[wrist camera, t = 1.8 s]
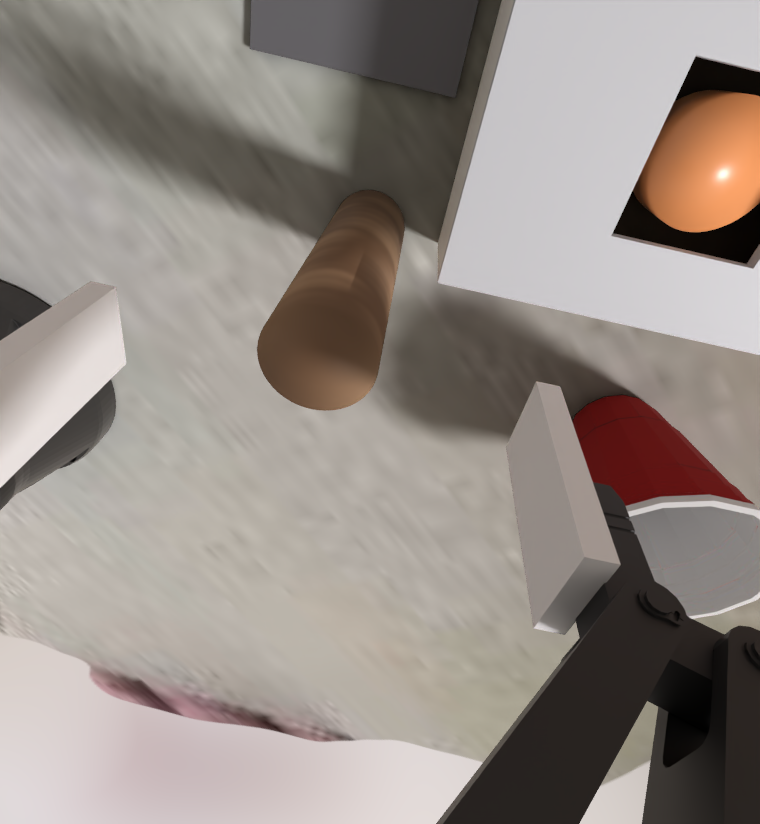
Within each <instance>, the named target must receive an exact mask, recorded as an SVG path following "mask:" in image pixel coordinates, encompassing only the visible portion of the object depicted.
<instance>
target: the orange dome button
mask: <svg viewBox="0 0 760 824" xmlns="http://www.w3.org/2000/svg"><path fill="white" fill-rule="evenodd" d="M633 192H634V194H635V196H636V198H637V199H638V201H639V202H640V203H641V204H642V205H643V206H644V207H645V208H646V209H647V210H649V211H650V212H651V213H653V214H654V215H655V216H657V217H658V218H659V219H660V220H662V221H663V222H664V223H666V224H667V225H668V226H670V227H673V228H675V229H678V230H681V231H686V232H705V231H710V230H714V229H717V228H720V227H723V226H726V225H728V224H730V223H732V222H734V221H736V220H737V219H739V218H741V217H742V216H744V215H745V214H747V213H748V212H749V211H751V210H752V209H753V208H754V207H755V206H757V205H758V204H759V203H760V96H757V95H751V94H745V93H738V92H731V91H724V90H704V91H699V92H695V93H692V94H689V95H687V96H685V97H682V98H681V99H679V100H677V101H675V102H674V103H673V105H672V108H671V110H670V112H669V114H668V116H667V118H666V120H665V122H664V125H663V127H662V129H661V131H660V133H659V135H658V137H657V140H656V142H655V144H654V146H653V148H652V150H651V152H650V154H649V157H648V159H647V161H646V163H645V165H644V167H643V169H642V171H641V174H640V176H639V178H638V180H637V182H636V184H635V186H634V189H633Z"/></svg>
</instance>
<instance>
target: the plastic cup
mask: <svg viewBox="0 0 760 824" xmlns="http://www.w3.org/2000/svg"><path fill="white" fill-rule="evenodd" d="M572 423H573V426H574V428H575V431H576V434H577V437H578V440H579V443H580V446H581V449H582V452H583V455H584V458H585V461H586V464H587V467H588V470H589V473H590V476H591V478H592V481H593V482H595V483H600V484H604V485H609V486H611V487H612V488H613V489H614V491H615V492H616V493H617V494H618V495H619V497H620V498H621V499H622V500H623V502H624V504H625V506H626V509H627V512H628V514H629V517H630V519H629V520H630V521H631V522H632V524H633V527H634V529H635V534H637V537H638V540H639V542H640V545H641V547H642V550H643V552H644V555H645V557H646V560H647V562H648V565H649V567H650V570H651V573H652V575H653V578H654V580H655V582H657V583H659V584H660V585H662V586H664V587H665V588H667V589H668V590H669V591H670V592H671V593H672V594H673V595H674V596H676V597H677V599H678V600H679V601H680V603H681V604H682V606H683V607H684V609H685V612H686V615H687V616H688V617H690V618H691V619H693V618H699V617H705V616H711V615H717V614H721V613H723V612H726V611H729V610H731V609H734V608H737V607H739V606H742V605H745V604H747V603H750V602H753V601H755V600H757V599H759V598H760V508H758V507H757V506H755V505H754V503H753V502H751V501H750V500H748V499H747V498H746V497H745V496H744V495H743V494H742V493H741V492H740V491H739V489H738V488H736V487H735V486H733V485H732V484H730V483H729V482H728V481H727V480H726V479H725V478H724V476H723V475H722V474H721V473H720V472H719V471H718V470H717V469H716V468H715V467H714V466H713V465H712V464H711V463H710V462H709V461H708V460H707V459H706V458H705V457H704V456H703V455H702V454H701V453H700V452H699V451H698V450H697V449H696V448H695V447H694V446H693V445H692V444H691V443H690V442H689V441H688V440H687V439H686V438H685V437H684V436H683V435H682V434H681V433H680V432H679V431H678V430H677V429H675V428H674V427H672V426H671V425H670V424H669V423H668V422H667V421H666V420H665V419H664V418H663V417H662V416H661V415H660V414H659V413H658V412H657V411H656V410H655V409H654V408H652V407H651V406H649V405H648V404H646V403H645V402H643V401H642V400H640V399H639V398H635V397H630V396H625V395H617V396H608V397H603V398H601V399H599V400H596V401H594V402H592V403H589V404H588V405H587V406H585V407H584V408H583V409H582V410H581V411H579V412H578V413H577V414H576V416H575V418H574V419H573V421H572Z"/></svg>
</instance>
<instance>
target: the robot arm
mask: <svg viewBox="0 0 760 824" xmlns="http://www.w3.org/2000/svg"><path fill="white" fill-rule="evenodd" d="M125 364H126V357H125V349H124V342H123V335H122V327H121V320H120V313H119V305H118V298H117V291H116V287H114V286H109V285H105V284H100V283H96V282H89V283H88V284H86V285H85V286H83V287H81V288H80V289H78V290H77V291H75V292H74V293H72V294H71V295H69V296H68V297H66V298H65V299H63V300H62V301H60V302H59V303H57V304H55V305H54V306H52V307H50V306H48V305H47V304H45V303H44V302H42V301H40V300H39V299H37V298H36V297H34V296H32V295H30V294H28V293H26V292H24V291H22V290H20V289H18V288H16V287H14V286H11V285H9V284H6V283H3V282H1V281H0V510H1V509H2V508H3V507H4V506H5V505H6V504H7V503H8V501H9V500H10V499H11V498H12V497H13V496H14V495H16V494H17V493H19V492H21V491H22V490H24V489H26V488H28V487H30V486H31V485H33V484H35V483H36V482H38V481H39V480H41V479H43V478H44V477H45V476H47V475H49V474H50V473H52V472H54V471H55V470H57V469H59V468H62V467H66V466H68V465H70V464H72V463H74V462H76V461H78V460H80V459H81V458H83V457H84V456H85V455H86V454H88V453H89V452H90V451H91V450H92V449H93V448H94V447H95V446H96V444H97V443H98V442H99V441H100V440H101V439H102V438H103V436H104V435H105V434H106V433H107V432H108V430H109V428H110V427H111V425H112V423H113V420H114V416H115V409H116V400H115V393H114V388H113V384H112V381H111V378H112V377H113V376H114V375H115V374H116V373H117V372H118V371H119V370H120V369H121V368H122V367H123V366H124V365H125ZM506 450H507V457H508V463H509V470H510V476H511V483H512V489H513V496H514V503H515V509H516V516H517V522H518V529H519V536H520V542H521V549H522V555H523V562H524V568H525V575H526V582H527V588H528V595H529V601H530V608H531V614H532V621H533V628H535V629H540V630H545V631H549V632H554V633H559V634H564V635H565V634H566V633H567V632H568V630H569V629H570V628H571V627H572V625H573V624H574V623H575V622H576V623H577V628H578V632H579V636H580V638H579V640H578V641H577V642H576V643H575V644H574V645H573V647H572V648H571V649H570V650H569V651H568V653H567V654H566V655H565V656H564V657H563V659H562V660H561V662H560V664H559V665H558V666H557V668H556V669H555V670H554V672H553V673H552V674H551V675H550V677H549V678H548V679H547V681H546V682H545V683H544V685H543V686H542V687H541V688H540V690H539V691H538V692H537V694H536V695H535V696H534V698H533V699H532V700H531V701H530V703H529V704H528V705H527V707H526V708H525V709H524V710H523V712H522V713H521V714H520V716H519V717H518V718H517V720H516V721H515V722H514V723H513V725H512V726H511V727H510V729H509V730H508V731H507V733H506V734H505V735H504V736H503V738H502V739H501V740H500V742H499V743H498V744H497V746H496V747H495V748H494V749H493V751H492V752H491V753H490V755H489V756H488V757H487V758H486V760H485V761H484V762H483V764H482V765H481V766H480V768H479V769H478V770H477V771H476V773H475V774H474V776H473V777H472V778H471V779H470V781H469V782H468V783H467V785H466V786H465V787H464V788H463V790H462V791H461V792H460V794H459V795H458V796H457V798H456V799H455V800H454V801H453V803H452V804H451V805H450V807H449V808H448V809H447V810H446V812H445V813H444V815H443V816H442V817H441V818H440V820H439V821H438V822H437V823H436V824H579V823H580V821H581V819H582V817H583V815H584V814H585V812H586V810H587V808H588V806H589V805H590V803H591V801H592V799H593V797H594V796H595V794H596V792H597V790H598V789H599V787H600V785H601V783H602V781H603V780H604V778H605V776H606V774H607V772H608V770H609V769H610V767H611V765H612V763H613V761H614V760H615V758H616V756H617V754H618V752H619V751H620V749H621V747H622V745H623V743H624V742H625V740H626V738H627V736H628V734H629V732H630V731H631V729H632V727H633V725H634V723H635V722H636V720H637V718H638V716H639V714H640V713H641V711H642V709H643V707H644V705H645V704H646V702H647V701H649V702H651V703H653V704H654V705H656V706H658V713H657V720H656V727H655V735H654V742H653V749H652V756H651V763H650V770H649V777H648V784H647V792H646V799H645V806H644V813H643V820H642V824H760V631H758V630H756V629H754V628H751V627H746V626H737V627H735V628H733V629H731V630H730V631H729V632H728V633H726V634H725V635H724V634H722V633H720V632H718V631H716V630H713V629H711V628H709V627H707V626H705V625H703V624H701V623H699V622H697V621H695V620H693V619H691V618H690V617H688V616H687V615H686V612H685V609H684V607H683V606H682V604H681V603H680V601H679V600H678V599H677V597H676V596H674V595H673V594H672V593H671V592H670V591H669V590H668V589H667V588H665V587H664V586H662V585H660V584H659V583H657V582H655V580H654V578H653V575H652V573H651V570H650V567H649V565H648V562H647V560H646V557H645V555H644V552H643V550H642V547H641V545H640V542H639V540H638V537H637V534H635V529H634V527H633V524H632V522H631V521H630V520H629V519H630V517H629V514H628V512H627V509H626V506H625V504H624V502H623V500H622V499H621V498H620V497H619V495H618V494H617V493H616V492H615V491H614V489H613V488H612V487H611V486H609V485H604V484H600V483H595V482H593V481H592V478H591V476H590V473H589V470H588V467H587V464H586V461H585V458H584V455H583V452H582V449H581V446H580V443H579V440H578V437H577V434H576V431H575V428H574V426H573V423H572V420H571V417H570V414H569V411H568V408H567V405H566V402H565V399H564V396H563V393H562V390H561V387H560V386H556V385H552V384H547V383H543V382H538V381H536V383H535V385H534V387H533V389H532V392H531V394H530V396H529V398H528V400H527V402H526V405H525V407H524V409H523V411H522V413H521V415H520V418H519V420H518V422H517V424H516V426H515V428H514V431H513V433H512V435H511V437H510V439H509V442H508V444H507V446H506Z"/></svg>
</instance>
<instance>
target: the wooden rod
mask: <svg viewBox="0 0 760 824" xmlns="http://www.w3.org/2000/svg"><path fill="white" fill-rule="evenodd" d="M404 231H405V225H404V218H403V215H402V212H401V210H400V208H399V207H398V205H397V204H396V203H395V202H394V201H393V200H392V199H391V198H390V197H389V196H387V195H386V194H384V193H381V192H379V191H375V190H362V191H358V192H355V193H353V194H351V195H350V196H348V197H347V198H346V199H345V200H344V201H343V202H342V203H341V205H340V206H339V208H338V210H337V211H336V213H335V214H334V216H333V218H332V219H331V221H330V222H329V224H328V225H327V227H326V229H325V230H324V232H323V233H322V235H321V237H320V238H319V240H318V241H317V243H316V245H315V246H314V248H313V249H312V251H311V253H310V254H309V256H308V257H307V259H306V260H305V262H304V264H303V265H302V267H301V268H300V270H299V272H298V273H297V275H296V276H295V278H294V280H293V281H292V283H291V284H290V286H289V288H288V289H287V291H286V292H285V294H284V295H283V297H282V299H281V300H280V302H279V303H278V305H277V307H276V308H275V310H274V311H273V313H272V315H271V316H270V318H269V319H268V321H267V322H266V324H265V326H264V327H263V329H262V331H261V333H260V336H259V340H258V347H257V353H258V360H259V364H260V367H261V370H262V372H263V374H264V376H265V377H266V379H267V380H268V382H269V383H270V384H271V386H272V387H273V388H274V389H275V390H276V391H277V392H278V393H280V394H281V395H282V396H283V397H285V398H286V399H288V400H290V401H291V402H293V403H295V404H298V405H300V406H303V407H306V408H310V409H315V410H336V409H342V408H345V407H348V406H350V405H353V404H354V403H356V402H358V401H359V400H361V399H362V398H363V397H364V396H365V395H366V394H367V393H368V392H369V391H370V390H371V388H372V387H373V385H374V383H375V381H376V378H377V375H378V370H379V365H380V359H381V354H382V349H383V343H384V338H385V333H386V327H387V322H388V317H389V311H390V306H391V301H392V295H393V290H394V285H395V279H396V274H397V269H398V264H399V258H400V253H401V248H402V242H403V237H404Z"/></svg>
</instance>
